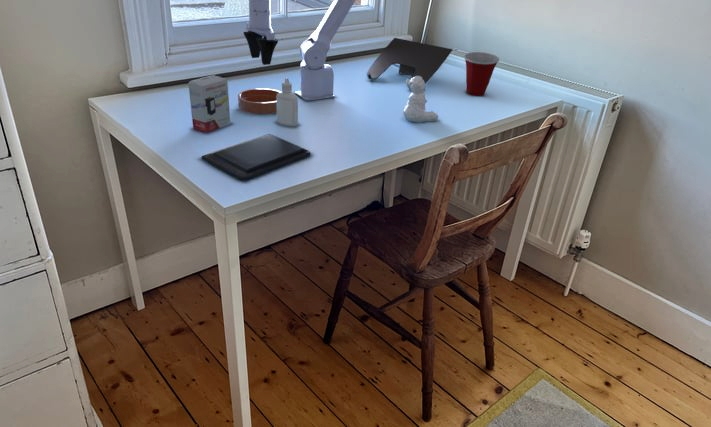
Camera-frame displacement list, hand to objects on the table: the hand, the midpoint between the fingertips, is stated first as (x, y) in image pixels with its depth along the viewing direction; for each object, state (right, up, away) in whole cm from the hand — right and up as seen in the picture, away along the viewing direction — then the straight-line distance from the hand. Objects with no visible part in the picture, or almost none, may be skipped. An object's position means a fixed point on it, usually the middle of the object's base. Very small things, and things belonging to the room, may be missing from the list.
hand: (260, 60), depth 145 cm
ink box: (-9, -22, -17) cm, 29 cm away
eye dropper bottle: (+9, -20, -12) cm, 25 cm away
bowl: (+1, -14, -3) cm, 14 cm away
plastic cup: (+66, -5, +20) cm, 69 cm away
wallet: (+5, -31, -31) cm, 44 cm away
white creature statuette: (+44, -17, -4) cm, 47 cm away
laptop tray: (+44, +2, +29) cm, 52 cm away
